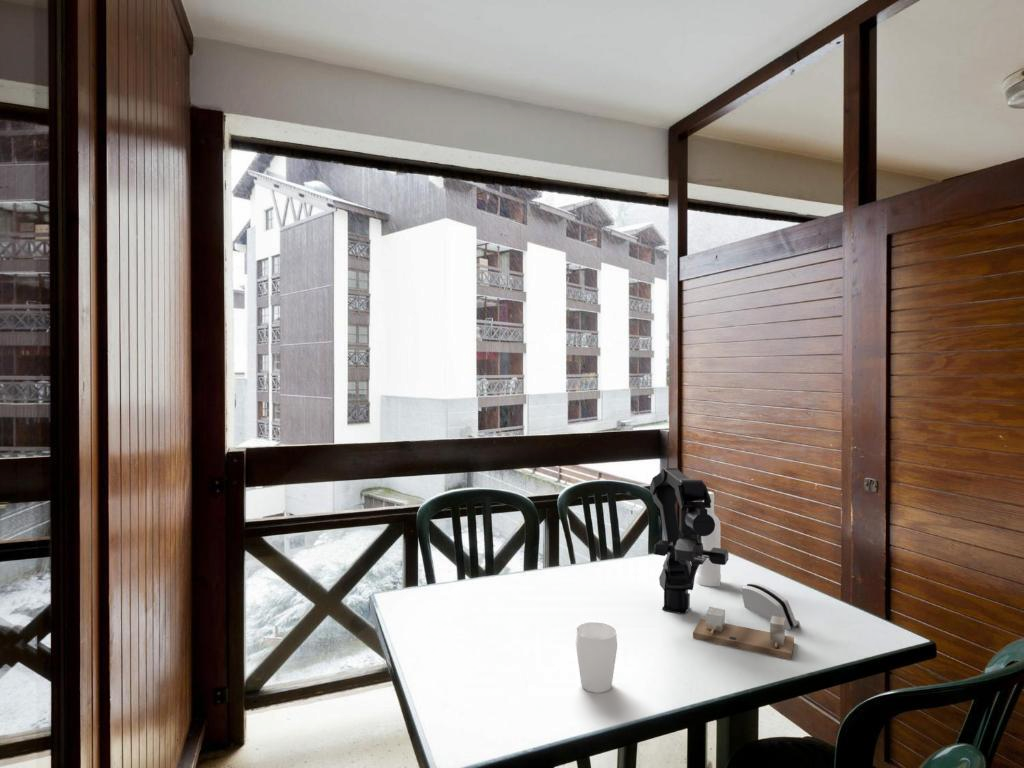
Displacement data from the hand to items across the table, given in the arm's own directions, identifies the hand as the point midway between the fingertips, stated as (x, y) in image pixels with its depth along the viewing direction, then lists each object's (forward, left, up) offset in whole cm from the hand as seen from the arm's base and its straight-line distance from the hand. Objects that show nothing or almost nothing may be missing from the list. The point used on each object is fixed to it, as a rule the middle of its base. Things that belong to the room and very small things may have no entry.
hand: (690, 583), depth 154 cm
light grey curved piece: (+18, +18, -12) cm, 28 cm away
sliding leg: (+7, -1, -10) cm, 12 cm away
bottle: (-2, +38, -12) cm, 40 cm away
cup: (-11, -40, -12) cm, 43 cm away
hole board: (+14, -1, -12) cm, 18 cm away
